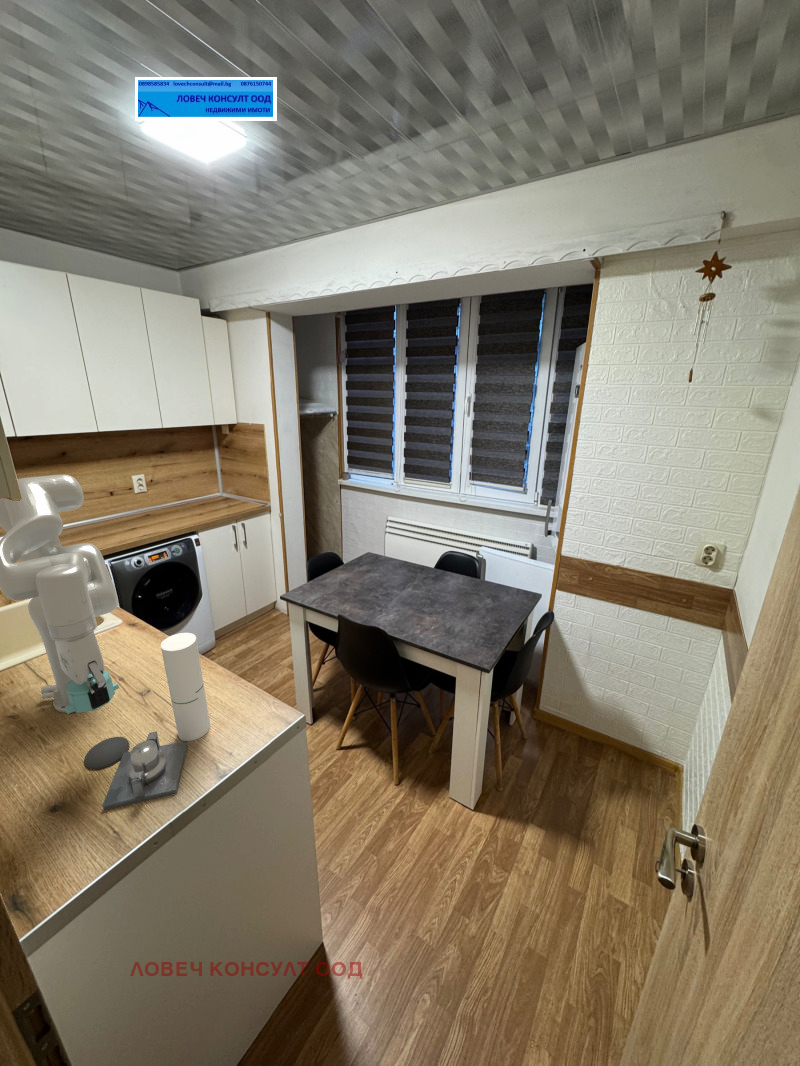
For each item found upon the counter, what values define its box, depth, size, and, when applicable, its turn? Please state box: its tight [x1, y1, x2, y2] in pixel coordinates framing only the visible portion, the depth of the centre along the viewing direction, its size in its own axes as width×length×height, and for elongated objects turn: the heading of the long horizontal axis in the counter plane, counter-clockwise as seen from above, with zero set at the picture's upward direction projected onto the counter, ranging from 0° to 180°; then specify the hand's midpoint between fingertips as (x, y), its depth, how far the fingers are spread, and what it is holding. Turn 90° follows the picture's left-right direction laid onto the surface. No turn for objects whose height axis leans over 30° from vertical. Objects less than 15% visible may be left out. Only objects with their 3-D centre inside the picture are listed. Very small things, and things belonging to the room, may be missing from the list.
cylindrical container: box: [160, 632, 211, 742], centre depth 98 cm, size 7×7×25 cm
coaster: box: [84, 736, 130, 770], centre depth 94 cm, size 8×8×1 cm
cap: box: [65, 669, 120, 715], centre depth 89 cm, size 10×7×5 cm
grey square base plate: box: [102, 731, 189, 811], centre depth 89 cm, size 13×13×7 cm
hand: (92, 696), depth 89 cm, fingers closed on cap, 7 cm apart
